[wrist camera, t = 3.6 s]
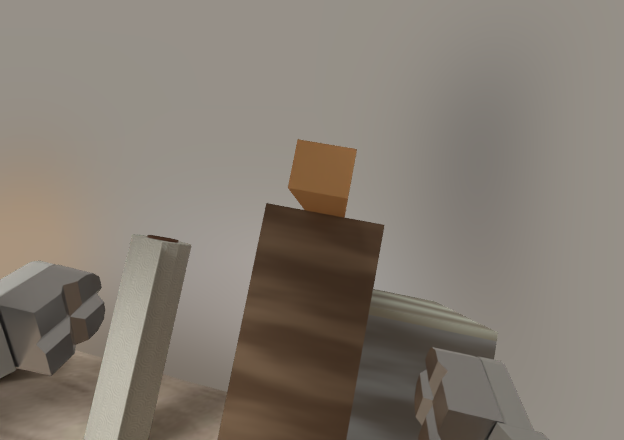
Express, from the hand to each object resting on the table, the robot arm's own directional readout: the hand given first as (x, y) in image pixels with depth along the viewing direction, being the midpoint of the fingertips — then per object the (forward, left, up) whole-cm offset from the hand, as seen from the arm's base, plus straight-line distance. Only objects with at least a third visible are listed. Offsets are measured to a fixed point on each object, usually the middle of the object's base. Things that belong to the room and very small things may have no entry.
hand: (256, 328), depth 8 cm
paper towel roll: (-30, +12, -21) cm, 39 cm away
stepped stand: (-11, +23, -21) cm, 33 cm away
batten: (-12, +17, +5) cm, 21 cm away
